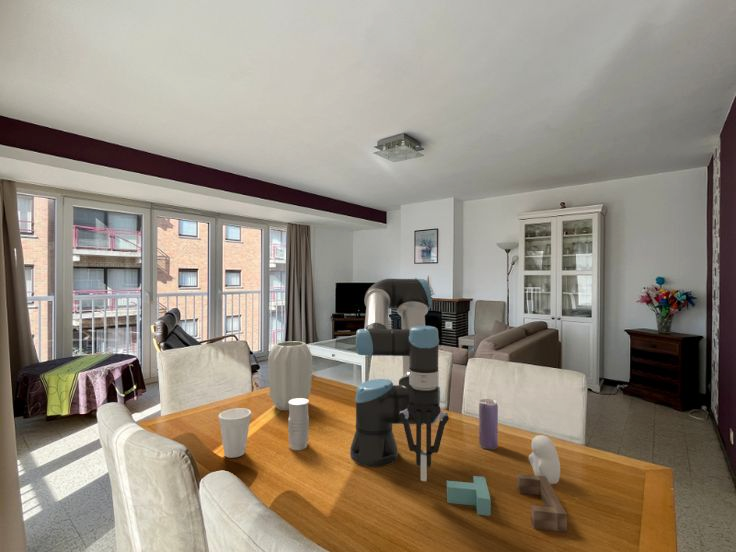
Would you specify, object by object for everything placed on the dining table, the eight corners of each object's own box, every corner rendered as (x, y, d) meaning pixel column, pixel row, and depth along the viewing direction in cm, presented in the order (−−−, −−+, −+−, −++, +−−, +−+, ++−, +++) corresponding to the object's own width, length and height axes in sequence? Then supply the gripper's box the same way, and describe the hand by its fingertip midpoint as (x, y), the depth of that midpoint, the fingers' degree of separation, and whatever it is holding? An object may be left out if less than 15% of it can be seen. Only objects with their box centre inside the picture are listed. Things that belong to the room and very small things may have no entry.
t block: (447, 511, 91) (447, 495, 91) (446, 488, 101) (446, 473, 101) (490, 515, 89) (490, 499, 89) (484, 492, 99) (484, 477, 99)
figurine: (526, 472, 109) (526, 431, 109) (551, 471, 110) (551, 430, 110) (539, 485, 102) (539, 441, 102) (565, 484, 103) (566, 441, 103)
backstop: (533, 528, 85) (533, 510, 85) (517, 488, 101) (517, 473, 101) (566, 531, 84) (567, 514, 84) (545, 491, 100) (545, 476, 100)
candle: (283, 446, 125) (283, 401, 125) (300, 439, 130) (300, 396, 130) (296, 452, 121) (296, 406, 121) (313, 445, 126) (313, 401, 126)
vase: (308, 414, 154) (308, 348, 154) (261, 414, 154) (261, 347, 154) (315, 399, 174) (315, 340, 174) (273, 398, 174) (274, 339, 174)
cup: (211, 458, 117) (211, 416, 117) (232, 445, 126) (233, 406, 126) (237, 464, 113) (237, 421, 113) (257, 449, 123) (257, 410, 123)
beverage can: (498, 451, 122) (498, 405, 122) (479, 449, 124) (480, 404, 124) (496, 443, 128) (496, 399, 128) (478, 441, 130) (478, 398, 130)
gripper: (397, 389, 94) (397, 483, 94) (450, 391, 92) (450, 488, 92) (399, 381, 102) (399, 468, 101) (448, 383, 100) (448, 473, 99)
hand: (423, 478), depth 97 cm, fingers closed
